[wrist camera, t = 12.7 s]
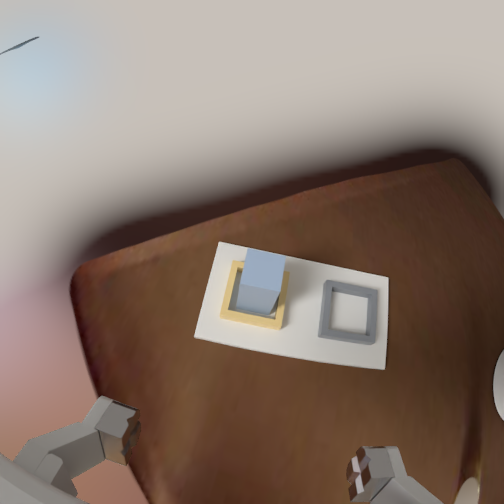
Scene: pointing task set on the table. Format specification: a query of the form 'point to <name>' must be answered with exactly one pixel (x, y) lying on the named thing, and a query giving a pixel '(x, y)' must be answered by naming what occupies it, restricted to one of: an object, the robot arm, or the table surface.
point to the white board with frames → (300, 312)
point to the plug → (260, 281)
